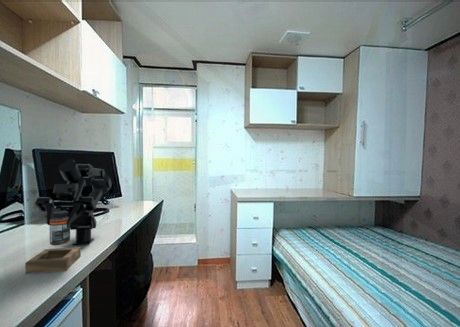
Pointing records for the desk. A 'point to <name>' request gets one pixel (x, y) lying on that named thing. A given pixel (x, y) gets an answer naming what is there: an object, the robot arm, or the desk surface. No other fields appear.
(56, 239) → the supplement bottle
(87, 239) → the robot arm
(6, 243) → the desk surface
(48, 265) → the walnut pocket block
